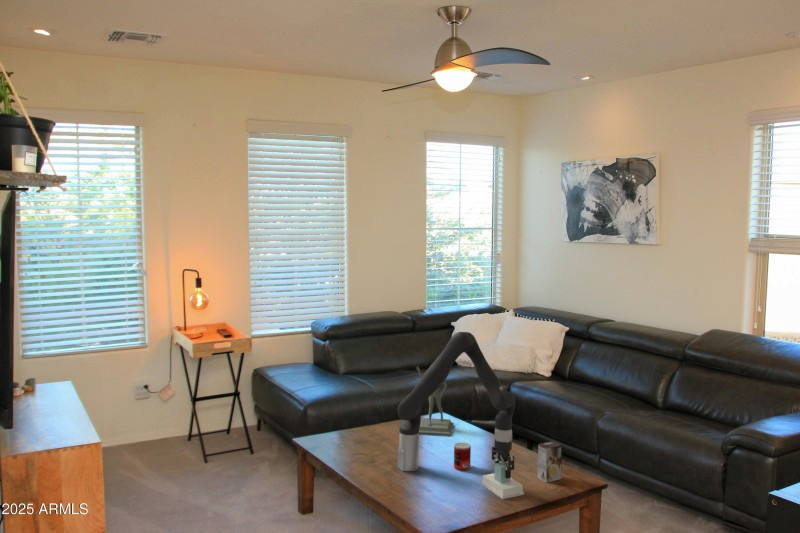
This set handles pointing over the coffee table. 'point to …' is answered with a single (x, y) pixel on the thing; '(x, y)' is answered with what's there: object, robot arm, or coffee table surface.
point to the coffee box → (549, 461)
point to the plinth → (502, 487)
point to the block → (500, 473)
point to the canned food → (462, 456)
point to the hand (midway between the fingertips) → (502, 474)
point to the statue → (435, 425)
